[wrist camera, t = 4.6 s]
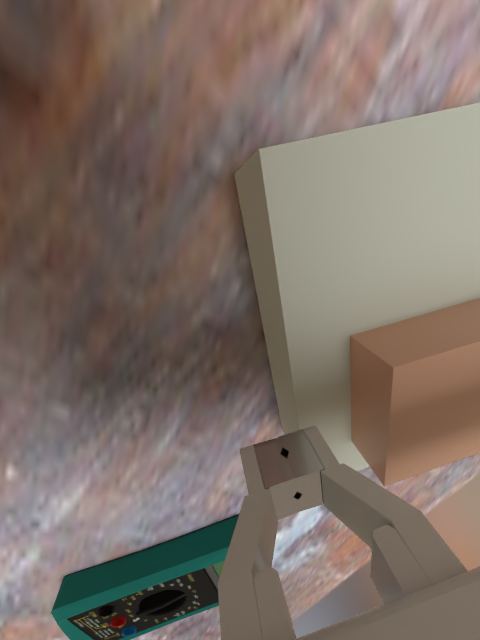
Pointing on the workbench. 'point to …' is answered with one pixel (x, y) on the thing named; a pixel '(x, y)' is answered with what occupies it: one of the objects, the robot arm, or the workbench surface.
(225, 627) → the robot arm
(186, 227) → the workbench surface
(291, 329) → the board
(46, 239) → the workbench surface
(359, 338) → the tile
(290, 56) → the workbench surface
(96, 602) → the digital multimeter
